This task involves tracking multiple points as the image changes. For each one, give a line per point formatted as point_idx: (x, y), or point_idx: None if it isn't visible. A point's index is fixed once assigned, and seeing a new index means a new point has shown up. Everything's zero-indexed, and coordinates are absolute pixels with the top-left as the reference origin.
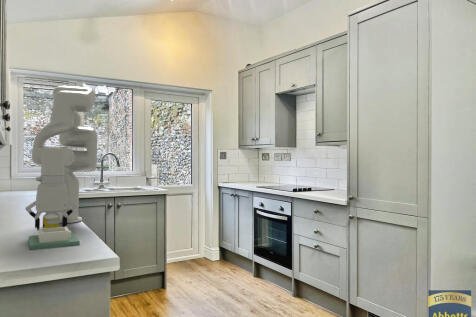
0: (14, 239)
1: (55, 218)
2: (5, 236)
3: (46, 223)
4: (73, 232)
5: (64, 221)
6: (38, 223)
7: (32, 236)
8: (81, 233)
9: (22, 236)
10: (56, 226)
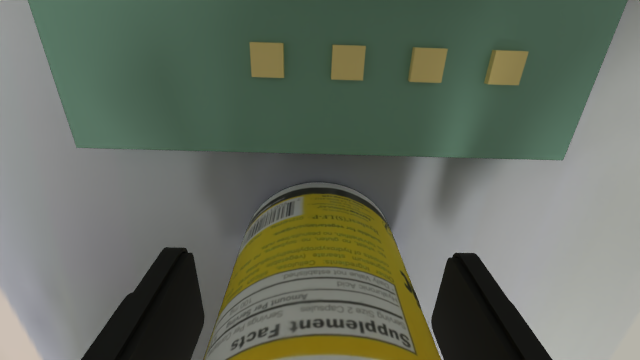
0: (635, 194)
1: (255, 358)
2: (625, 325)
3: (401, 296)
4: (71, 127)
5: (125, 318)
6: (508, 319)
7: (551, 91)
8: (36, 206)
9: (531, 282)
10: (260, 254)
